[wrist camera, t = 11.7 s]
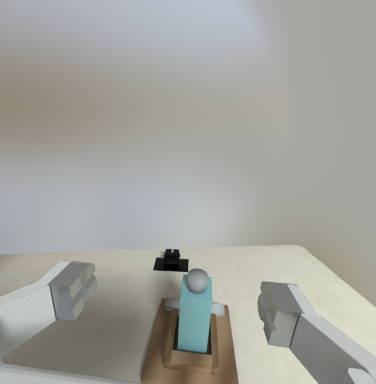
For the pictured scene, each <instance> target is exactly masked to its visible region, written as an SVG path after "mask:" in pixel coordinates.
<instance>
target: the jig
mask: <svg viewBox="0 0 376 384" xmlns="http://www.w3.org/2000/svg"><path fill="white" fill-rule="evenodd" d="M179 312H180V300H179V299H170V298H166V299H164V298H162V301H161V305H160V309H159V313H158V317H157V320H156V324H155V328H154V332H153V336H152V339H151V343H150V347H149V351H148V355H147V358H146V362H145V366H144V370H143V374H142V377H141V379H142V383H145V384H239V383H238V376H237V369H236V361H235V354H234V347H233V340H232V332H231V325H230V318H229V311H228V306H227V305H223V304H214V303H212V307H211V316H210V325H209V334H208V343H207V352H206V354H199V353H191V352H184V351H178V332H179Z"/></svg>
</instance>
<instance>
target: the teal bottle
mask: <svg viewBox="0 0 376 384" xmlns="http://www.w3.org/2000/svg"><path fill="white" fill-rule="evenodd" d="M211 307H212V285H211V277H208V275H207V273H206V272H205V271H204V270H202V269H192V270H190V271H189V272H188V275H183V282H182V288H181V295H180V312H179V332H178V351H184V352H191V353H199V354H206V352H207V343H208V334H209V325H210V316H211Z"/></svg>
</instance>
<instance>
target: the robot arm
mask: <svg viewBox="0 0 376 384" xmlns="http://www.w3.org/2000/svg"><path fill="white" fill-rule="evenodd" d="M94 272H95V265H94V264H92V263H84V262H76V261H67V260H63V261H60V262H59V263H58V264H57V265H56V266H55V267H53V268H52V269H51V270H50V271H49V272H48V273H47V274H45V275H44V276H43V277H42V278H41V279H40V280H38V281H37V282H36V283H35V284H29V285H27V286H24V287H22V288H20V289H17V290H15V291H13V292H10V293H8V294H6V295H3V296H1V297H0V384H145V383H138V382H131V381H124V380H117V379H110V378H103V377H96V376H89V375H82V374H75V373H68V372H61V371H54V370H47V369H40V368H33V367H26V366H19V365H11V364H5V363H4V360H3V358H4V357H5V356H7V355H8V354H10V353H11V352H12V351H14V350H15V349H17V348H18V347H19V346H21V345H22V344H24V343H25V342H26V341H28V340H29V339H31V338H32V337H33V336H35V335H36V334H37V333H39V332H40V331H42V330H43V329H44V328H46V327H47V326H49V325H50V324H51V323H53V322H54V321H56V319H60V320H71V321H75V320H76V318H77V317H78V316H79V314H80V313H81V311H82V310H83V309H84V303H85V302H86V301H88V300H90V298H91V297H92V295H93V294H94V291H95V289H96V283H97V281H96V277H95V276H94V275H93V273H94ZM260 289H261V292H262V293H261V294H260V295H259V297H258V312H259V316H260V319H261V320H262V321H263V322H264V328H263V329H264V332H265V336H266V339H267V342H268V345H273V346H280V347H286V348H290V350H291V351H292V353H293V354H294V355H295V356H296V357H297V359H298V360H299V361H300V362H301V363H302V365H303V366H304V367H305V368H306V369H307V371H308V372H309V373H310V374H311V375H312V377H313V378H314V379H315V380H316V381H317V383H318V384H376V357H375V356H374V355H372V354H371V353H370V352H368V351H367V350H366V349H364V348H363V347H362V346H360V345H359V344H358V343H356V342H355V341H354V340H352V339H351V338H350V337H348V336H347V335H346V334H344V333H343V332H342V331H340V330H339V329H338V328H337V327H335V326H334V325H333V324H331V323H330V322H329V321H327V320H326V319H325V318H323V317H322V316H318V315H317V314H316V312H315V311H314V309H313V308H312V306H311V305H310V303H309V301H308V300H307V298H306V297H305V295H304V294H303V292H302V291H301V289H300V287H299V286H298V285H297V284H289V283H285V284H284V283H275V282H265V281H263V282H262V283H261V287H260Z"/></svg>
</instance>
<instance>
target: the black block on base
mask: <svg viewBox="0 0 376 384" xmlns="http://www.w3.org/2000/svg"><path fill="white" fill-rule="evenodd" d="M171 252H172V249H166V252H165V254H164V258H156V261H155V265H154V269H153V270H158V271H178V272H188V261H189V260H188V259H180V253H179V250H176V249H174V250H173V253H171Z"/></svg>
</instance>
